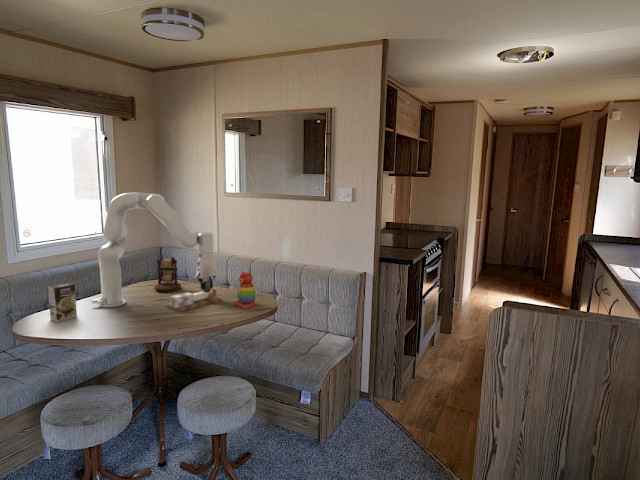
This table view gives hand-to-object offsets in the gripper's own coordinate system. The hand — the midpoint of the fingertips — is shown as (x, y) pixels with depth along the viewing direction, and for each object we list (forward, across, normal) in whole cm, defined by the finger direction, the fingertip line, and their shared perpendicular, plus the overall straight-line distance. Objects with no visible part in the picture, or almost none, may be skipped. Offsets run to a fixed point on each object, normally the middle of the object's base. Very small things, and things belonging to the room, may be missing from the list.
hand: (206, 288), depth 229 cm
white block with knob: (+5, -4, 0) cm, 6 cm away
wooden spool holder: (+7, -3, +34) cm, 35 cm away
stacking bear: (+7, +9, -22) cm, 25 cm away
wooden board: (+7, -8, 0) cm, 10 cm away
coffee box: (+7, -62, +24) cm, 67 cm away
